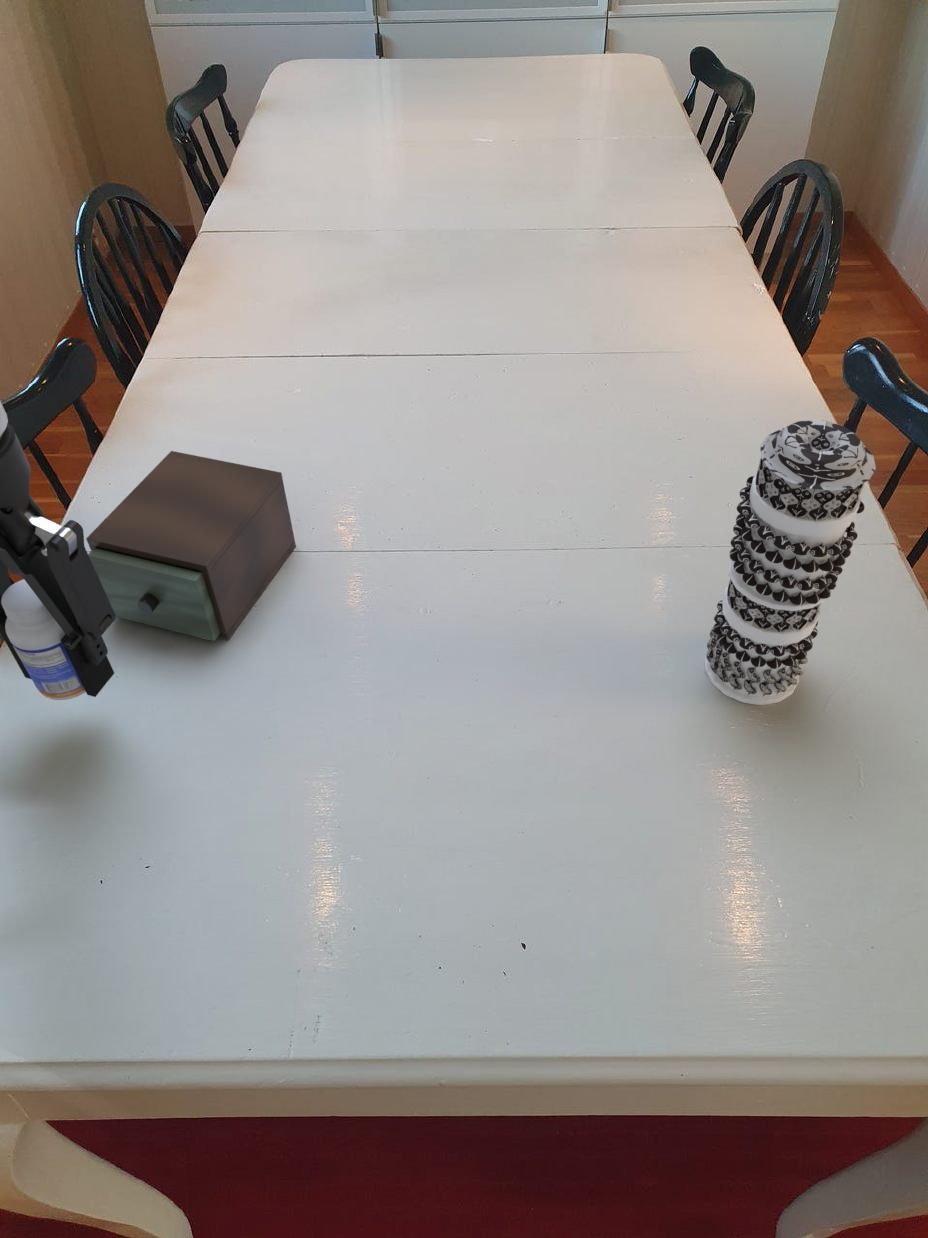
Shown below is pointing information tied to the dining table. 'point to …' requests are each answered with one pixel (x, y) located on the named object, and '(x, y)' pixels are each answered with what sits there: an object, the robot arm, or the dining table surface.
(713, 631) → the decorative candle
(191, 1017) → the dining table surface
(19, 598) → the pill bottle
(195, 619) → the drawer
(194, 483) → the cabinet
